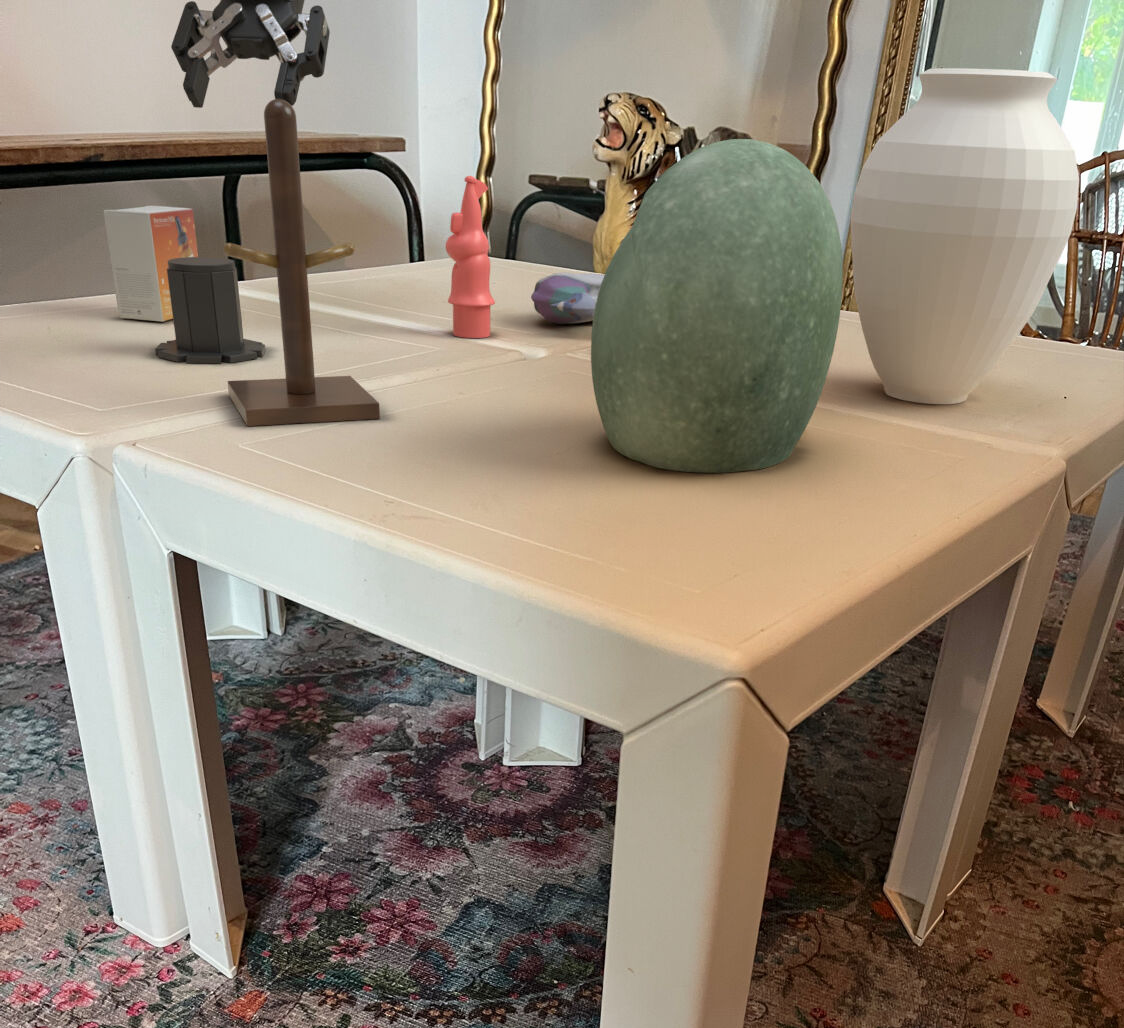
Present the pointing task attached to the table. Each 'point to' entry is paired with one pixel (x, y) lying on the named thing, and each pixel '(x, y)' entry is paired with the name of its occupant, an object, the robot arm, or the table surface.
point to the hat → (206, 313)
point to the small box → (147, 256)
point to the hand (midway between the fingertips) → (237, 102)
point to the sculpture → (719, 312)
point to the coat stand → (294, 301)
